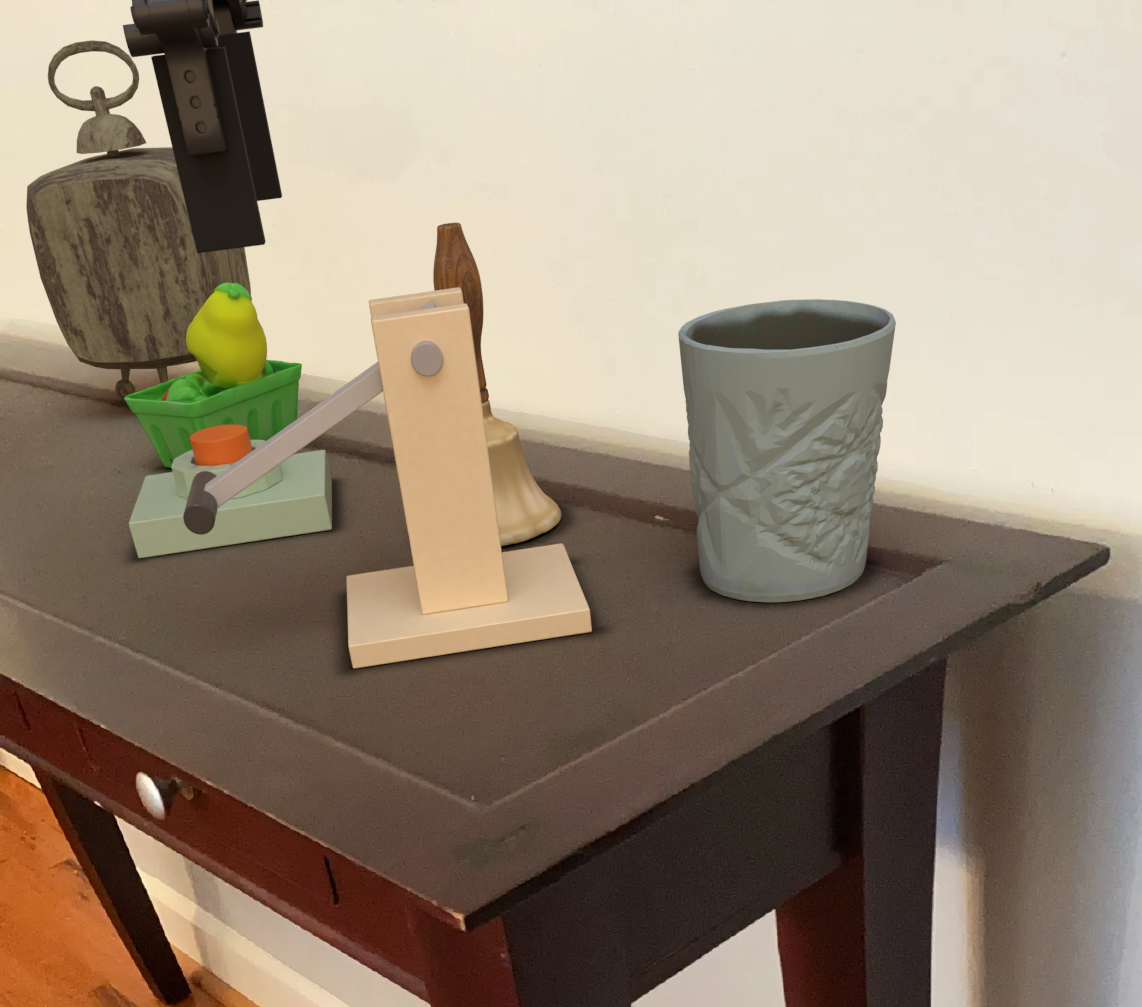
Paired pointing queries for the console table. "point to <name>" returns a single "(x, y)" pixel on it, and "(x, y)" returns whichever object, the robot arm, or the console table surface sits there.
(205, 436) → the orange push button
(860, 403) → the drinking glass
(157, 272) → the tabletop clock
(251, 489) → the button block
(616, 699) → the console table surface
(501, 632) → the lever bracket
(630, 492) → the console table surface
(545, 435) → the console table surface
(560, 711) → the console table surface
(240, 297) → the fruit basket
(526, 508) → the hand bell
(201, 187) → the robot arm
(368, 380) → the press lever
